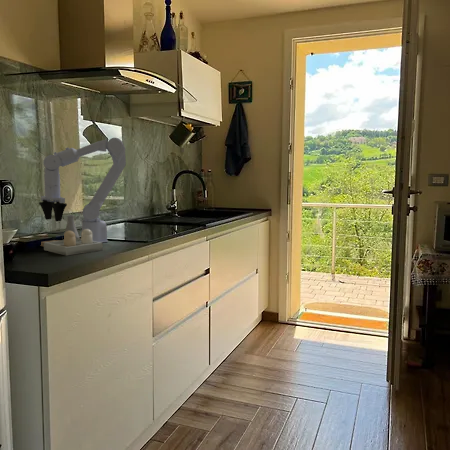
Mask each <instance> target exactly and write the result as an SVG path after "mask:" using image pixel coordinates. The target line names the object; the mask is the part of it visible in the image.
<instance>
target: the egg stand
mask: <svg viewBox="0 0 450 450" xmlns="http://www.w3.org/2000/svg"><path fill="white" fill-rule="evenodd" d="M52 241H60V240H58V239H56V240H55V239H53V240H45V241H41V245H40V247H43V248H44V242H52Z"/></svg>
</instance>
